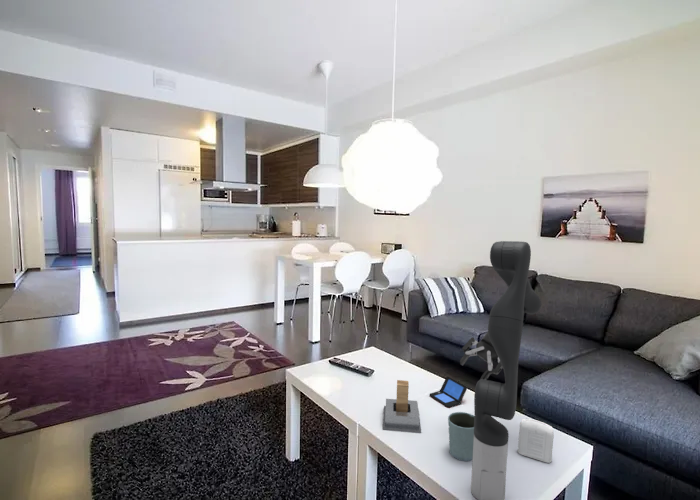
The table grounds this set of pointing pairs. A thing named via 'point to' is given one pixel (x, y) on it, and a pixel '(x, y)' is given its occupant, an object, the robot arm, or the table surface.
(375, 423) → the table surface
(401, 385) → the oak pin
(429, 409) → the table surface
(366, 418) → the table surface
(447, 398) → the handheld game console
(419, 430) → the metal socket
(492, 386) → the robot arm
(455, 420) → the teal cup
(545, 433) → the photo printer
